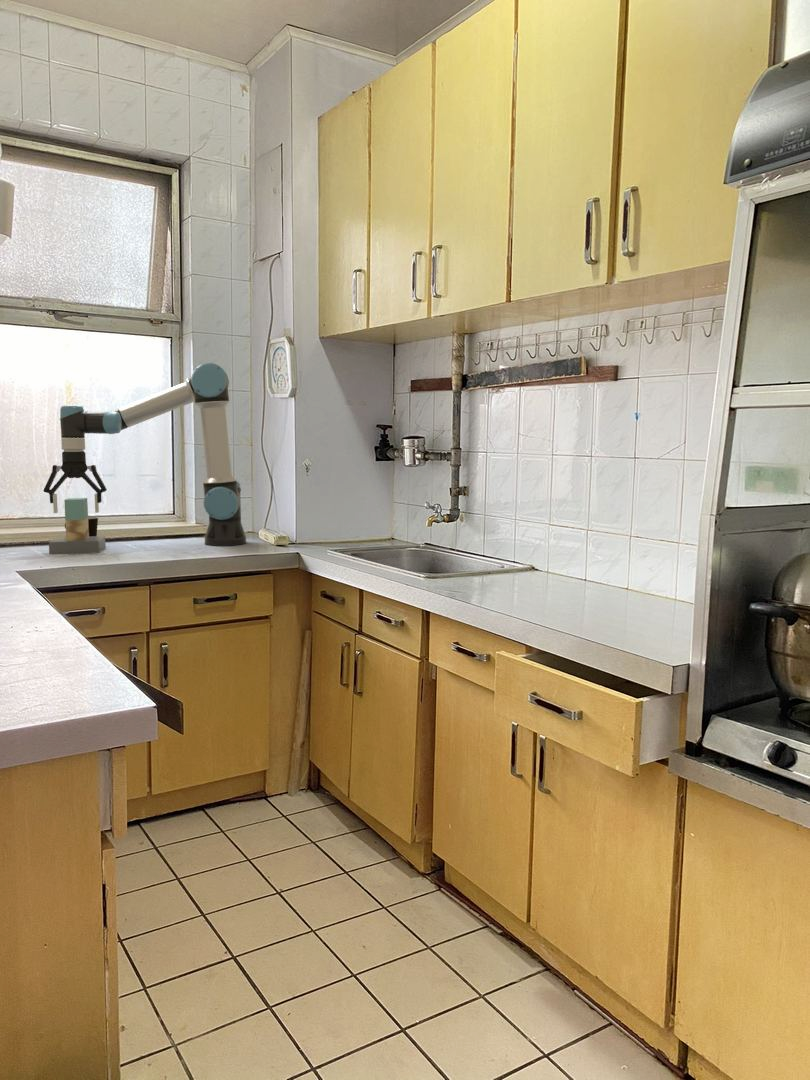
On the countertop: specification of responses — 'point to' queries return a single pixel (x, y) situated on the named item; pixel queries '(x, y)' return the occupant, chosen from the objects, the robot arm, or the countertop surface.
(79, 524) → the oak brick
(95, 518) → the coffee mug
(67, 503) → the teal brick
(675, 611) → the countertop surface
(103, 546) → the slate plinth
